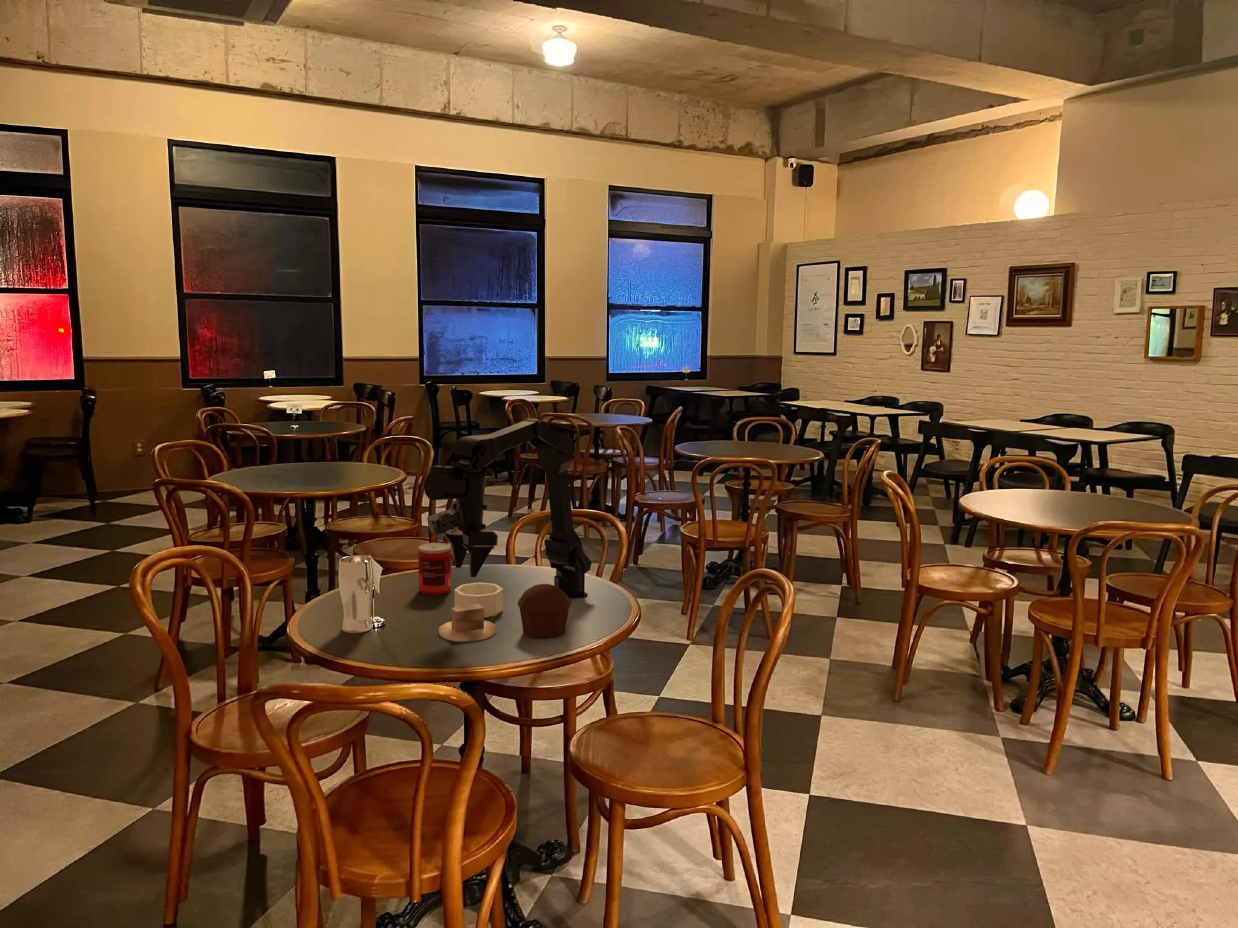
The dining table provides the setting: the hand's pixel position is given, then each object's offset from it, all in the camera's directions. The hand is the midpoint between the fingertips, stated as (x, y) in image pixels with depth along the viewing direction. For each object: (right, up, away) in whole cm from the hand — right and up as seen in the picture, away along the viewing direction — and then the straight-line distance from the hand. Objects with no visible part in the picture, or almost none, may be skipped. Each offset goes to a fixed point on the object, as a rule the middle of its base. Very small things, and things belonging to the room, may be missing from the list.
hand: (465, 572), depth 183 cm
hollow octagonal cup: (0, -11, +15) cm, 18 cm away
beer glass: (-23, -12, +2) cm, 26 cm away
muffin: (+16, -13, +2) cm, 21 cm away
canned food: (-13, -8, +29) cm, 33 cm away
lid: (0, -13, +1) cm, 13 cm away
